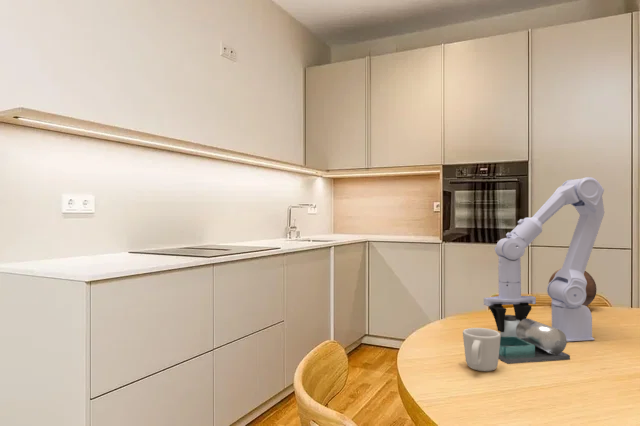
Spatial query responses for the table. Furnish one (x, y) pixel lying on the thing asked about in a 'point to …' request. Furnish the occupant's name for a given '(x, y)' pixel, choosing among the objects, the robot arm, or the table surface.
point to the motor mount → (533, 344)
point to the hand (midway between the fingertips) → (510, 330)
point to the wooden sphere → (589, 287)
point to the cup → (481, 348)
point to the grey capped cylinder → (510, 326)
